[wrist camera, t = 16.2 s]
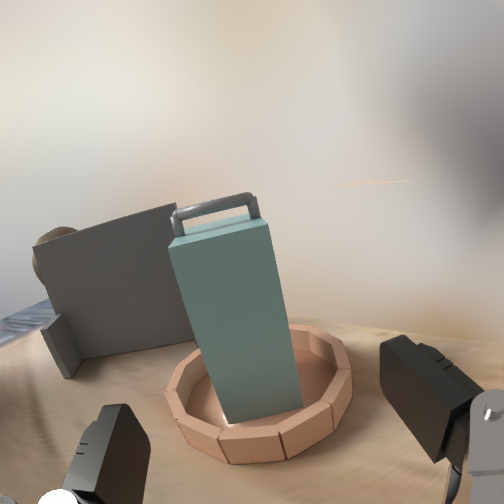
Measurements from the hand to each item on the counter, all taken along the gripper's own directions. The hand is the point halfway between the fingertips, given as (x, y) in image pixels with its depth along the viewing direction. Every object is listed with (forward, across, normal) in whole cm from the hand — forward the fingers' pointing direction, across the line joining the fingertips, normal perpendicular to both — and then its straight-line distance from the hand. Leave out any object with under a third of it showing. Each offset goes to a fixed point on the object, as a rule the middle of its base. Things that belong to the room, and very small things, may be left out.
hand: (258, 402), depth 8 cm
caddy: (+10, 0, +8) cm, 13 cm away
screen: (+20, +12, +9) cm, 25 cm away
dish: (+10, 0, +9) cm, 14 cm away
